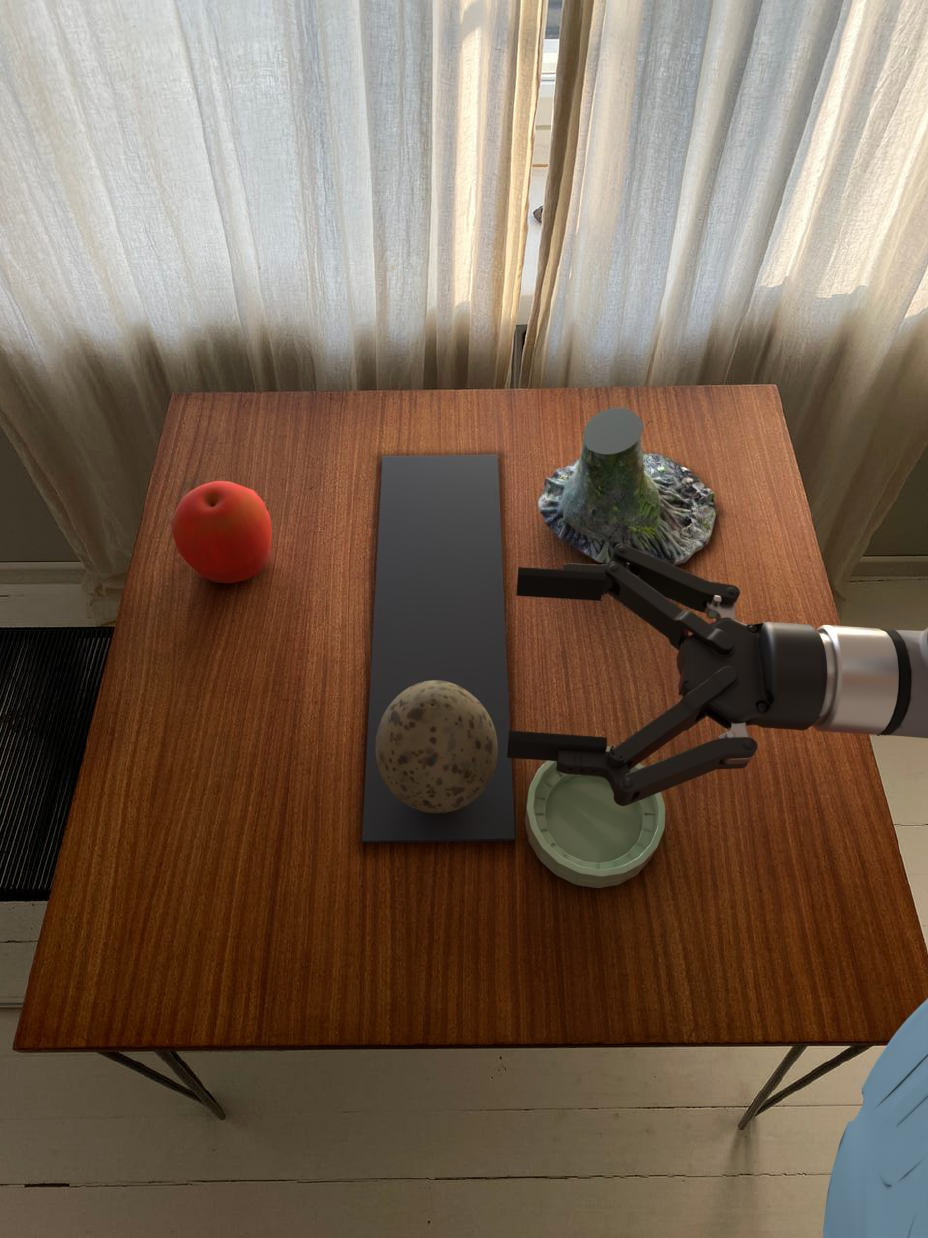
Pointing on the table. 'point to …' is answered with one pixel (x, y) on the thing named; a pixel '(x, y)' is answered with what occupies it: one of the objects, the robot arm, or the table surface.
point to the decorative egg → (436, 747)
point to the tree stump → (627, 496)
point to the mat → (439, 628)
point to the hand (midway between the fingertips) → (512, 658)
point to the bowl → (590, 828)
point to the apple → (223, 531)
